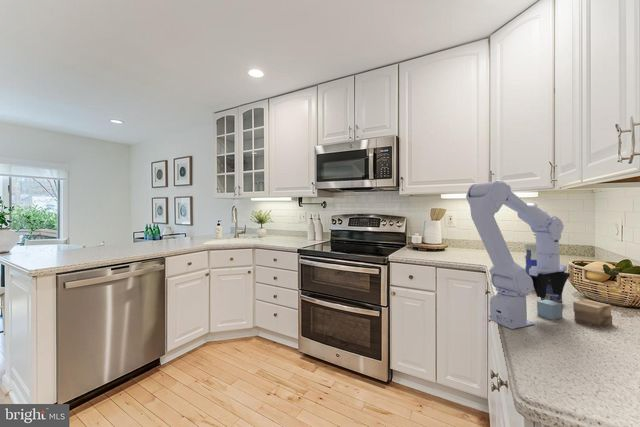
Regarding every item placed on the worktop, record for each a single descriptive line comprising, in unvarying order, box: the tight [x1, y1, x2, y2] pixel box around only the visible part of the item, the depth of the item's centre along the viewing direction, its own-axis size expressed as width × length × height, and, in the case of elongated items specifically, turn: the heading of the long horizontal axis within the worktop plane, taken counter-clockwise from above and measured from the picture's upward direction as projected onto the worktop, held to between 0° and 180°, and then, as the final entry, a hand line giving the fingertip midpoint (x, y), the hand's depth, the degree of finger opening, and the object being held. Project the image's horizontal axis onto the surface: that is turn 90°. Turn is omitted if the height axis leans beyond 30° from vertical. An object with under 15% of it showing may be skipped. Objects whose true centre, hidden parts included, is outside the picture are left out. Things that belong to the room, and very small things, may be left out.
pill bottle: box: [540, 274, 563, 304], centre depth 103 cm, size 6×6×11 cm
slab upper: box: [572, 299, 612, 318], centre depth 84 cm, size 6×6×3 cm
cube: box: [536, 299, 563, 321], centre depth 89 cm, size 4×4×4 cm
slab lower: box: [573, 311, 613, 329], centre depth 84 cm, size 6×6×3 cm
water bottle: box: [522, 233, 537, 291], centre depth 120 cm, size 8×9×25 cm
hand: (549, 295), depth 89 cm, fingers open, 7 cm apart
